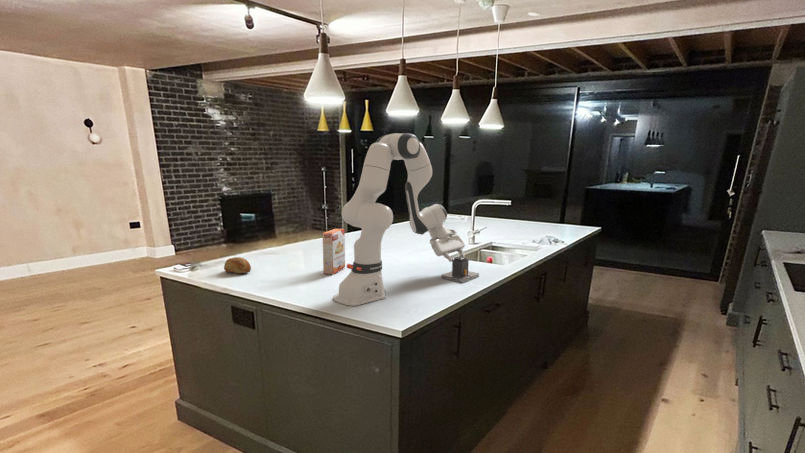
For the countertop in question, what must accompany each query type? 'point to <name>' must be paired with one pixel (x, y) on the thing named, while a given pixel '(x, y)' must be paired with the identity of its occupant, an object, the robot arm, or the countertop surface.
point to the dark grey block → (460, 266)
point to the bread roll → (237, 265)
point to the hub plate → (460, 279)
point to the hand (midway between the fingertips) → (457, 259)
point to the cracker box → (333, 251)
